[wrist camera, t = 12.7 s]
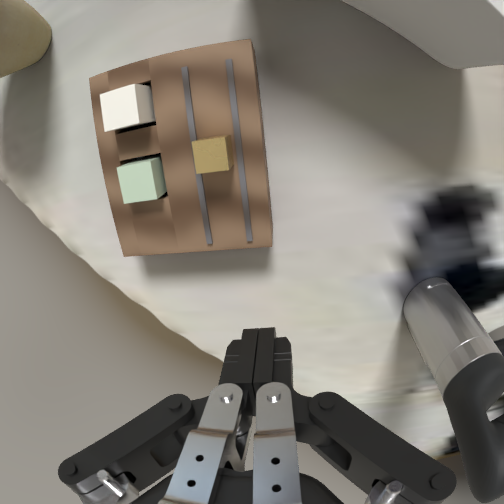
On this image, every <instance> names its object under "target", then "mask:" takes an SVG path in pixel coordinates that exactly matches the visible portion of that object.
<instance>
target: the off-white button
mask: <svg viewBox="0 0 504 504" xmlns="http://www.w3.org/2000/svg"><path fill="white" fill-rule="evenodd" d="M100 102H101V109H102V117H103V124H104V131H105V132H107V131H112V130H118V129H124V128H129V127H133V126H137V125H141V124H146V123H150V122H155V121H156V119H155V111H154V104H153V96H152V88H151V86H146V85H140V84H132V85H128V86H125V87H122V88H118V89H115V90H112V91H109V92H106V93H103V94H100Z"/></svg>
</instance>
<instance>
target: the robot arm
mask: <svg viewBox="0 0 504 504" xmlns="http://www.w3.org/2000/svg"><path fill="white" fill-rule="evenodd" d="M403 313H404V316H405V319H406V321H407V322H408V325H407V327H408V329H409V331H410V333H411V335H412V337H413V339H414V341H415V343H416V345H417V348H418V350H419V352H420V354H421V356H422V358H423V361H424V363H425V365H426V366H428V367H429V368H430V370H431V372H432V375H433V377H434V379H435V381H436V384H437V386H438V388H439V390H440V393H441V395H442V398H443V400H444V403H445V405H446V408H447V411H448V414H449V417H450V421H451V424H452V427H453V430H454V433H455V436H456V439H457V442H458V445H459V449H460V453H461V457H462V461H463V465H464V469H465V473H466V477H467V481H468V484H469V487H470V490H471V492H472V494H473V495H474V497H475V498H476V499H477V500H478V501H479V502H481V503H487V502H491V501H493V500H495V499H497V498H499V497H500V496H502V495H504V414H503V415H501V416H500V417H498V418H496V419H494V420H492V421H491V422H490V421H489V420H488V417H487V414H486V411H487V410H488V409H489V408H490V407H491V406H492V405H493V404H494V403H495V402H496V401H497V400H498V398H499V397H500V396H501V395H502V393H503V392H504V357H503V356H502V354H501V352H500V351H499V349H498V348H497V346H496V345H495V343H494V342H493V340H492V339H491V338H490V336H489V335H488V333H487V332H486V331H485V329H484V328H483V326H482V325H481V324H480V322H479V321H478V319H477V318H476V317H475V315H474V314H473V313H472V311H471V310H470V309H469V307H468V306H467V305H466V303H465V302H464V301H463V300H462V298H461V297H460V296H459V294H458V293H457V292H456V291H455V290H454V288H453V287H452V286H451V285H450V283H449V282H448V281H447V280H445V279H443V278H439V277H434V278H429V279H427V280H424V281H422V282H421V283H419V284H418V285H417V286H416V287H414V288H413V289H412V291H411V292H410V293H409V295H408V296H407V298H406V300H405V303H404V307H403ZM252 416H256V434H254V459H253V460H254V462H253V470H249V471H245V468H244V466H245V460H246V455H247V450H248V446H249V441H250V437H251V432H252V427H251V424H252ZM296 441H298V442H303V443H308V444H310V446H311V447H312V449H314V450H315V451H316V452H317V453H318V454H319V455H320V456H322V457H323V458H324V459H325V460H326V461H327V462H328V463H330V464H331V465H332V466H333V467H334V468H335V469H337V470H338V471H339V472H340V473H342V474H343V475H344V476H345V477H346V478H347V479H349V480H350V481H351V482H352V483H354V484H355V485H356V486H357V487H359V488H360V489H361V490H363V491H364V492H365V493H366V494H368V497H367V498H366V501H365V504H441V503H442V502H443V501H444V500H445V499H446V498H447V497H448V496H450V495H451V494H452V492H453V491H454V489H455V487H456V476H455V474H454V472H453V471H452V470H451V469H449V468H448V467H446V466H444V465H443V464H441V463H439V462H438V461H436V460H435V459H433V458H431V457H430V456H428V455H427V454H425V453H423V452H422V451H420V450H419V449H417V448H416V447H414V446H413V445H411V444H409V443H408V442H406V441H405V440H403V439H402V438H400V437H399V436H397V435H396V434H394V433H393V432H391V431H390V430H388V429H387V428H385V427H384V426H382V425H381V424H380V423H378V422H377V421H375V420H374V419H372V418H371V417H369V416H368V415H367V414H365V413H364V412H362V411H361V410H359V409H358V408H357V407H355V406H354V405H352V404H351V403H350V402H348V401H347V400H346V399H344V398H343V397H341V396H340V395H338V394H336V393H333V392H322V393H319V394H317V395H315V396H314V397H307V396H303V395H300V394H299V393H297V392H296V391H295V390H294V389H293V366H292V353H291V343H290V342H289V340H288V339H287V337H279V338H276V330H275V327H271V328H260V329H259V328H255V329H243V333H242V339H241V340H233V341H232V342H231V343H230V344H229V346H228V347H227V350H226V356H225V359H224V363H223V368H222V372H221V376H220V380H219V385H218V386H217V387H215V388H214V389H213V390H212V391H211V393H210V395H209V396H207V397H205V398H201V399H196V400H192V401H191V400H190V399H189V398H188V397H187V396H185V395H183V394H174V395H170V396H168V397H166V398H165V399H163V400H162V401H160V402H159V403H157V404H156V405H154V406H153V407H151V408H150V409H148V410H147V411H145V412H144V413H142V414H140V415H139V416H137V417H136V418H134V419H133V420H131V421H129V422H128V423H126V424H125V425H123V426H122V427H120V428H118V429H117V430H115V431H114V432H112V433H110V434H109V435H107V436H105V437H104V438H102V439H100V440H99V441H97V442H95V443H94V444H92V445H90V446H88V447H87V448H85V449H83V450H82V451H80V452H78V453H76V454H75V455H73V456H71V457H69V458H68V459H66V460H64V461H63V462H62V463H61V464H60V466H59V469H58V475H59V478H60V480H61V481H62V482H64V483H65V484H66V485H67V486H68V487H70V488H71V489H72V490H73V491H74V492H75V493H76V494H77V495H78V496H79V497H80V499H81V501H82V502H83V504H344V503H343V502H341V500H339V499H338V498H337V497H336V496H335V495H334V494H333V493H332V492H331V491H330V490H329V489H328V488H327V487H326V486H325V485H324V484H322V483H321V482H319V481H318V480H317V479H315V478H313V477H311V476H308V475H306V474H302V473H299V467H298V456H297V445H296ZM174 468H175V471H174V473H173V474H172V475H170V476H168V477H166V478H165V479H163V480H162V481H161V482H159V483H158V484H157V485H155V486H154V487H152V488H151V489H150V490H148V491H147V492H145V493H144V494H143V495H141V496H139V492H140V491H142V490H143V489H145V488H146V487H148V486H149V485H151V484H152V483H154V482H155V481H157V480H158V479H160V478H161V477H163V476H164V475H166V474H167V473H169V472H170V471H171V470H173V469H174Z"/></svg>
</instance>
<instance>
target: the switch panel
mask: <svg viewBox="0 0 504 504" xmlns="http://www.w3.org/2000/svg"><path fill="white" fill-rule="evenodd" d="M89 81H90V91H91V100H92V108H93V116H94V123H95V130H96V136H97V142H98V148H99V154H100V159H101V164H102V169H103V174H104V179H105V184H106V189H107V193H108V198H109V202H110V206H111V210H112V214H113V218H114V222H115V226H116V230H117V234H118V238H119V241H120V245H121V248H122V252H123V255H124V257H126V256H141V255H155V254H170V253H184V252H199V251H214V250H229V249H244V248H259V247H272V234H273V225H272V213H271V202H270V191H269V180H268V170H267V159H266V149H265V140H264V130H263V120H262V111H261V102H260V93H259V84H258V75H257V67H256V58H255V51H254V47H253V44H252V41H251V39H246V40H238V41H230V42H224V43H217V44H211V45H205V46H200V47H195V48H190V49H185V50H181V51H176V52H172V53H168V54H164V55H160V56H156V57H152V58H148V59H145V60H141V61H138V62H135V63H131V64H128V65H125V66H122V67H119V68H116V69H113V70H110V71H107V72H104V73H101V74H99V75H96V76H93V77H91V78H89ZM147 82H151V88H152V96H153V104H154V111H155V119H156V125H155V126H150V127H145V128H141V129H137V130H132V131H128V132H127V128H124V129H118V130H112V131H107V132H105V131H104V124H103V117H102V109H101V102H100V94H103V93H106V92H109V91H112V90H115V89H118V88H122V87H125V86H128V85H132V84H144V83H147ZM222 135H231V143H232V151H233V160H234V165H233V166H232V167H231V168H230V170H226V171H217V172H208V173H200V174H196V169H195V162H194V155H193V148H192V141H195V140H198V139H201V138H207V137H215V136H222ZM157 153H161V158H162V164H163V170H164V176H165V182H166V187H167V193H168V196H165V197H159V198H158V199H155V200H147V201H140V202H133V203H127V204H124V201H123V197H122V192H121V188H120V183H119V178H118V173H117V167H119V166H122V165H124V164H127V163H129V162H131V161H132V158H136V157H141V156H146V155H151V154H157Z"/></svg>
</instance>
